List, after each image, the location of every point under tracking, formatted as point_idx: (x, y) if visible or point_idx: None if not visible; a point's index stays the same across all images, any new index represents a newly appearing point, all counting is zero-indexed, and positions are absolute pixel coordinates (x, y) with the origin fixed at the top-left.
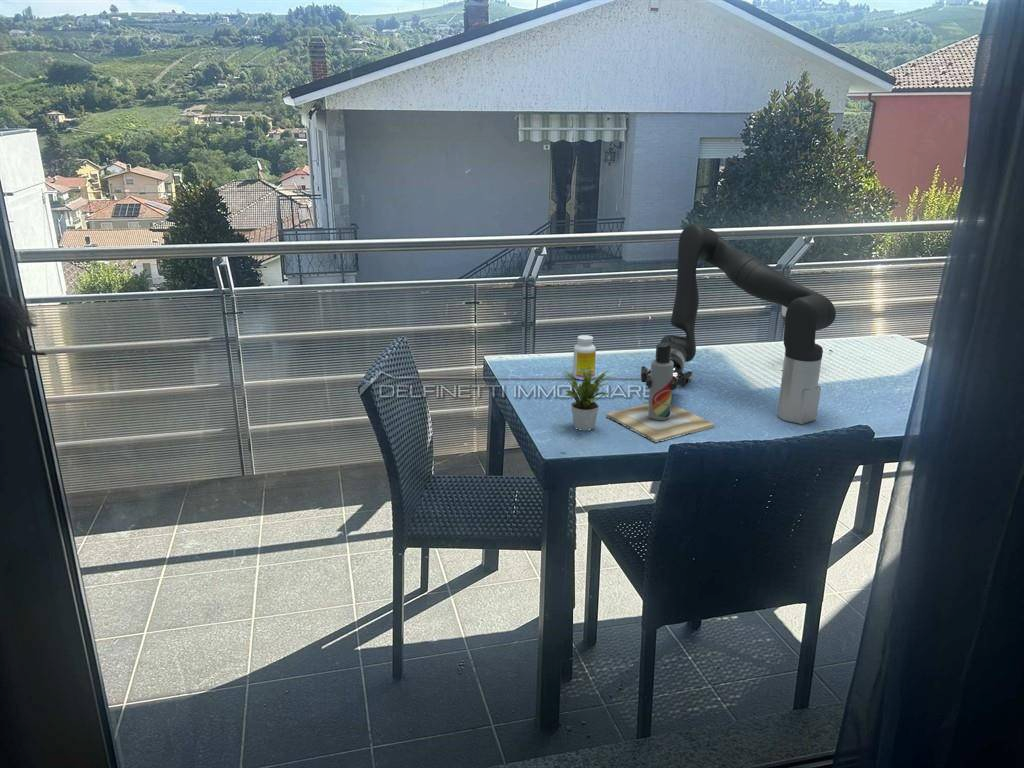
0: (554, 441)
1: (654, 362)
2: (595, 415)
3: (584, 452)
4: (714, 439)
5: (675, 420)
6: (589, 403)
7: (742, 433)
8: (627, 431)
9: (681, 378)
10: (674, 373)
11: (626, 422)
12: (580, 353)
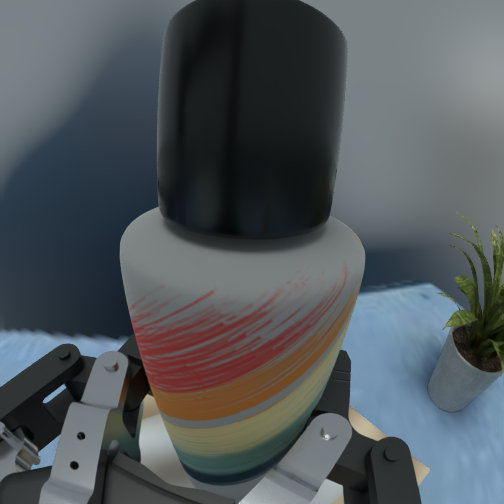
0: None
1: (329, 217)
2: (442, 353)
3: (398, 299)
4: (107, 347)
5: (171, 444)
6: (459, 288)
7: (30, 361)
8: None
9: (80, 364)
10: (95, 405)
11: (356, 422)
12: None
